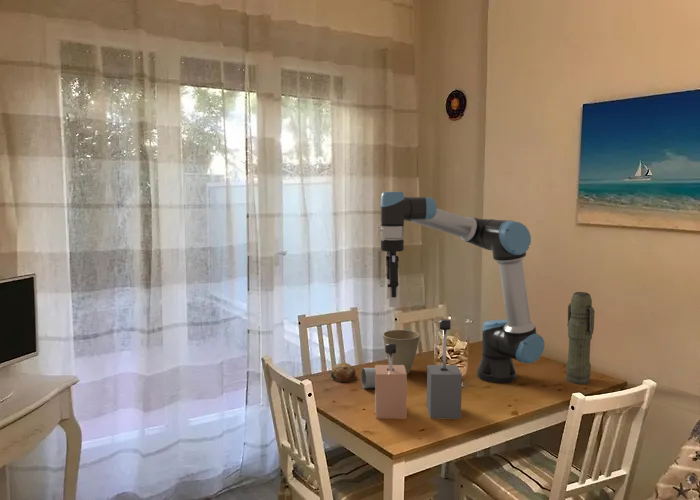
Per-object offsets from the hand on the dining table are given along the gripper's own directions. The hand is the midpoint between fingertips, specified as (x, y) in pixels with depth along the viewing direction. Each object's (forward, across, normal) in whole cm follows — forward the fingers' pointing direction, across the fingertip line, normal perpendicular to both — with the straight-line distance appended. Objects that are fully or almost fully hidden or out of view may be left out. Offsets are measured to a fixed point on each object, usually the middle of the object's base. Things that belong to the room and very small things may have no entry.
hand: (392, 302), depth 192 cm
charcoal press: (+38, -1, +17) cm, 42 cm away
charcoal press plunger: (+28, 0, +18) cm, 33 cm away
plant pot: (+38, -43, +6) cm, 58 cm away
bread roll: (+38, -35, -17) cm, 55 cm away
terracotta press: (+38, -1, -1) cm, 38 cm away
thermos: (+38, -33, +76) cm, 91 cm away
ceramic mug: (+38, -26, -6) cm, 47 cm away
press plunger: (+36, 0, -1) cm, 36 cm away
